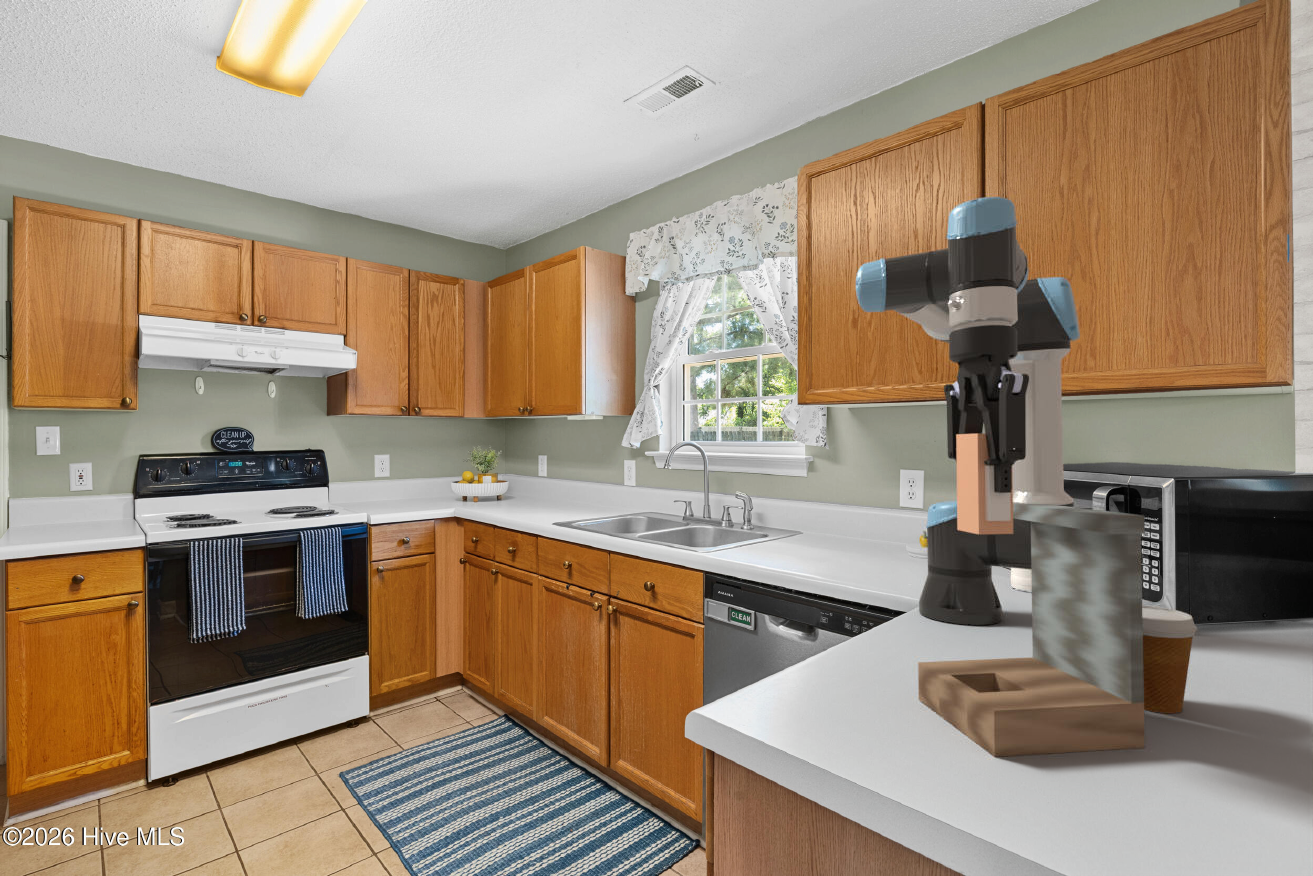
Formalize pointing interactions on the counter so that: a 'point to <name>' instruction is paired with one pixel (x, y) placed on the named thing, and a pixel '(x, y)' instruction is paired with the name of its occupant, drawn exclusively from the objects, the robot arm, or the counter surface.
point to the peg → (975, 487)
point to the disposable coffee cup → (1165, 657)
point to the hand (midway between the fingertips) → (984, 517)
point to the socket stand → (1060, 646)
